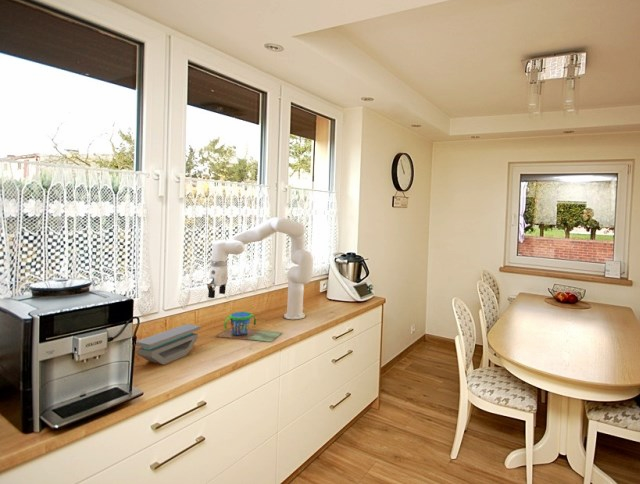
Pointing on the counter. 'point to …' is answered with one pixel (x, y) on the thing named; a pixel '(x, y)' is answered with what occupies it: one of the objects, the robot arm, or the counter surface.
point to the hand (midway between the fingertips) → (216, 295)
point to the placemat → (251, 335)
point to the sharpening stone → (168, 344)
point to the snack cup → (240, 322)
